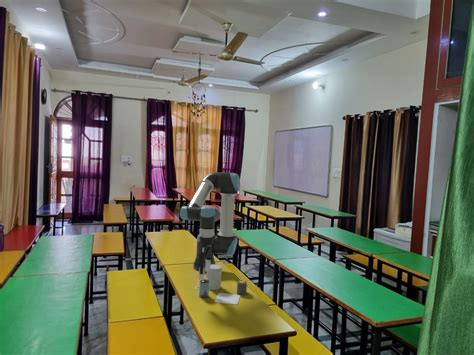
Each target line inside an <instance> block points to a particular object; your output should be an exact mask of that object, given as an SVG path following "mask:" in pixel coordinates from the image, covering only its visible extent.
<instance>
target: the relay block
mask: <svg viewBox="0 0 474 355" xmlns="http://www.w3.org/2000/svg"><path fill="white" fill-rule="evenodd" d="M236 282H237V284H236V295H241V296H247V283H248V282H247V280H237V281H236Z"/></svg>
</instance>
